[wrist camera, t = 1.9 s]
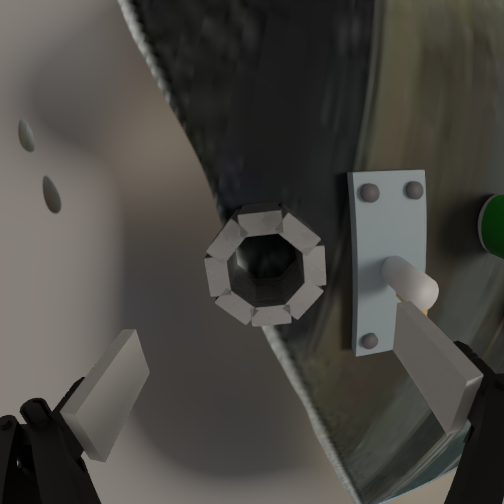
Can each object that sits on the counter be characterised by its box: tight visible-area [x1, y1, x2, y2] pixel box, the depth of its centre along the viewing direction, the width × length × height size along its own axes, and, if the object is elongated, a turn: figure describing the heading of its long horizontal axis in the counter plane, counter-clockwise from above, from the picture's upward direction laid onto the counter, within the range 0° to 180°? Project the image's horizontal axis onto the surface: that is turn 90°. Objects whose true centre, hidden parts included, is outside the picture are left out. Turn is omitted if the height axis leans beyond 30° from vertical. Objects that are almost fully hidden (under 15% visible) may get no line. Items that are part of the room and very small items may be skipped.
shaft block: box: [347, 170, 439, 356], centre depth 27 cm, size 20×8×9 cm, turn 7°
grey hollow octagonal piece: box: [204, 201, 326, 327], centre depth 28 cm, size 10×10×7 cm
